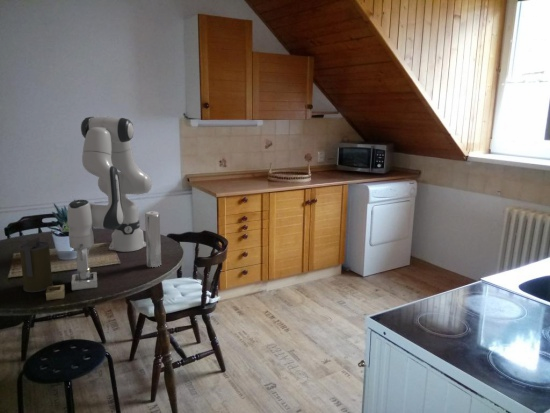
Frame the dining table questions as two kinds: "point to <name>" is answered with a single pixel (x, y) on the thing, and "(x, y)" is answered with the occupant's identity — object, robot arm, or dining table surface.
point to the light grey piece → (153, 239)
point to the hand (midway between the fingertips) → (84, 273)
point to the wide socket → (84, 282)
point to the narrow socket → (55, 292)
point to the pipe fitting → (86, 275)
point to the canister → (35, 265)
